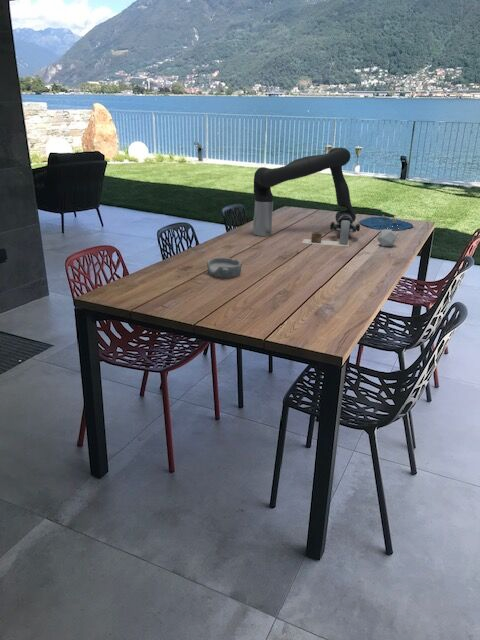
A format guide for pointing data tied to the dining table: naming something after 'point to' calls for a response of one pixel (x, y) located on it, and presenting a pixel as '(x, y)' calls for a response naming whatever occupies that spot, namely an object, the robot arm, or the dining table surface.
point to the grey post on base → (343, 236)
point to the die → (386, 238)
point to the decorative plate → (385, 223)
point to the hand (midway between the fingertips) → (344, 229)
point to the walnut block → (316, 237)
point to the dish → (224, 267)
